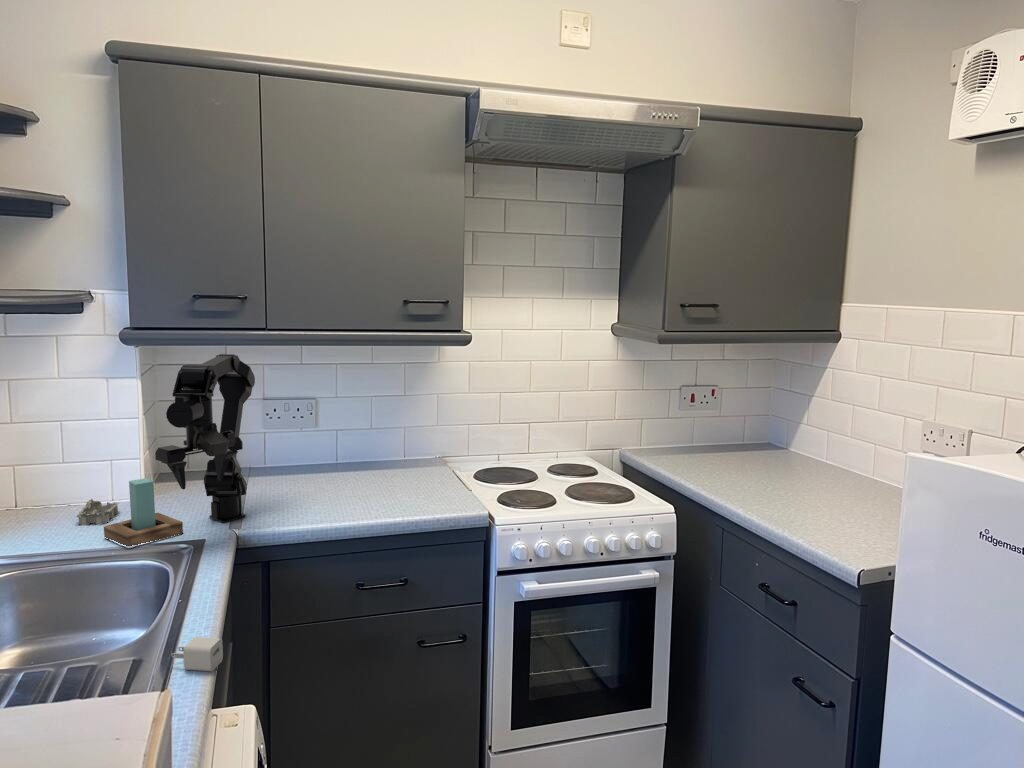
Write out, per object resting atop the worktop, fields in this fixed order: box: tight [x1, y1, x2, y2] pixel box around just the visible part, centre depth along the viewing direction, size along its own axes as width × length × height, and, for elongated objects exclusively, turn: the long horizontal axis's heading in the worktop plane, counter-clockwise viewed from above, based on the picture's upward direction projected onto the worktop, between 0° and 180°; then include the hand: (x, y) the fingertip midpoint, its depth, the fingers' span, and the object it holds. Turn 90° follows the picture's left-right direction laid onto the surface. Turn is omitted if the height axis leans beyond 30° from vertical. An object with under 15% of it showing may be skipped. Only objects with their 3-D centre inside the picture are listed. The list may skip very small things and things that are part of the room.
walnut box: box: [103, 512, 184, 546], centre depth 173 cm, size 13×11×3 cm
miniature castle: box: [76, 498, 120, 526], centre depth 185 cm, size 11×8×4 cm
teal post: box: [128, 477, 156, 531], centre depth 172 cm, size 4×4×13 cm
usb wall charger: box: [170, 636, 224, 672], centre depth 117 cm, size 4×7×4 cm, turn 85°
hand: (202, 484), depth 171 cm, fingers open, 9 cm apart
